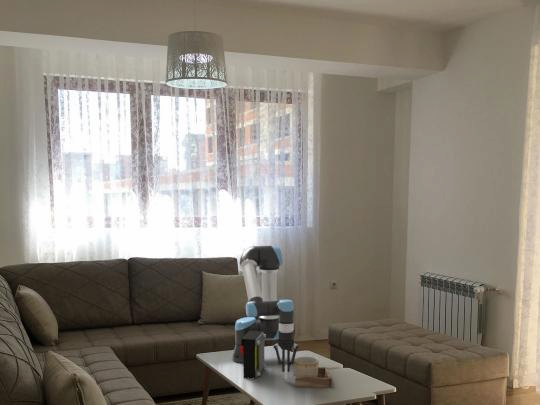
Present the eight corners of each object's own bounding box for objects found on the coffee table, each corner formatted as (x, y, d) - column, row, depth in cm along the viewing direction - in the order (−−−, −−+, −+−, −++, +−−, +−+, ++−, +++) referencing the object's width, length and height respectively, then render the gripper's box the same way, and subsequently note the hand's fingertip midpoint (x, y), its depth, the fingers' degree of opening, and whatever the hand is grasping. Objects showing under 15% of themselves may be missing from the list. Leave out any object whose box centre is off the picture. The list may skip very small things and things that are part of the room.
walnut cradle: (293, 375, 282) (293, 367, 282) (326, 374, 283) (326, 367, 283) (295, 387, 264) (295, 379, 264) (331, 387, 264) (331, 378, 264)
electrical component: (259, 379, 276) (259, 339, 276) (239, 377, 278) (239, 338, 278) (266, 368, 293) (266, 331, 293) (248, 367, 295) (248, 330, 295)
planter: (292, 377, 279) (292, 356, 279) (316, 376, 280) (316, 356, 280) (295, 385, 266) (295, 364, 266) (320, 384, 267) (320, 363, 267)
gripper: (273, 332, 268) (273, 380, 268) (299, 333, 268) (299, 380, 268) (273, 329, 276) (272, 375, 275) (298, 329, 276) (298, 375, 276)
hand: (285, 378), depth 272 cm, fingers closed
